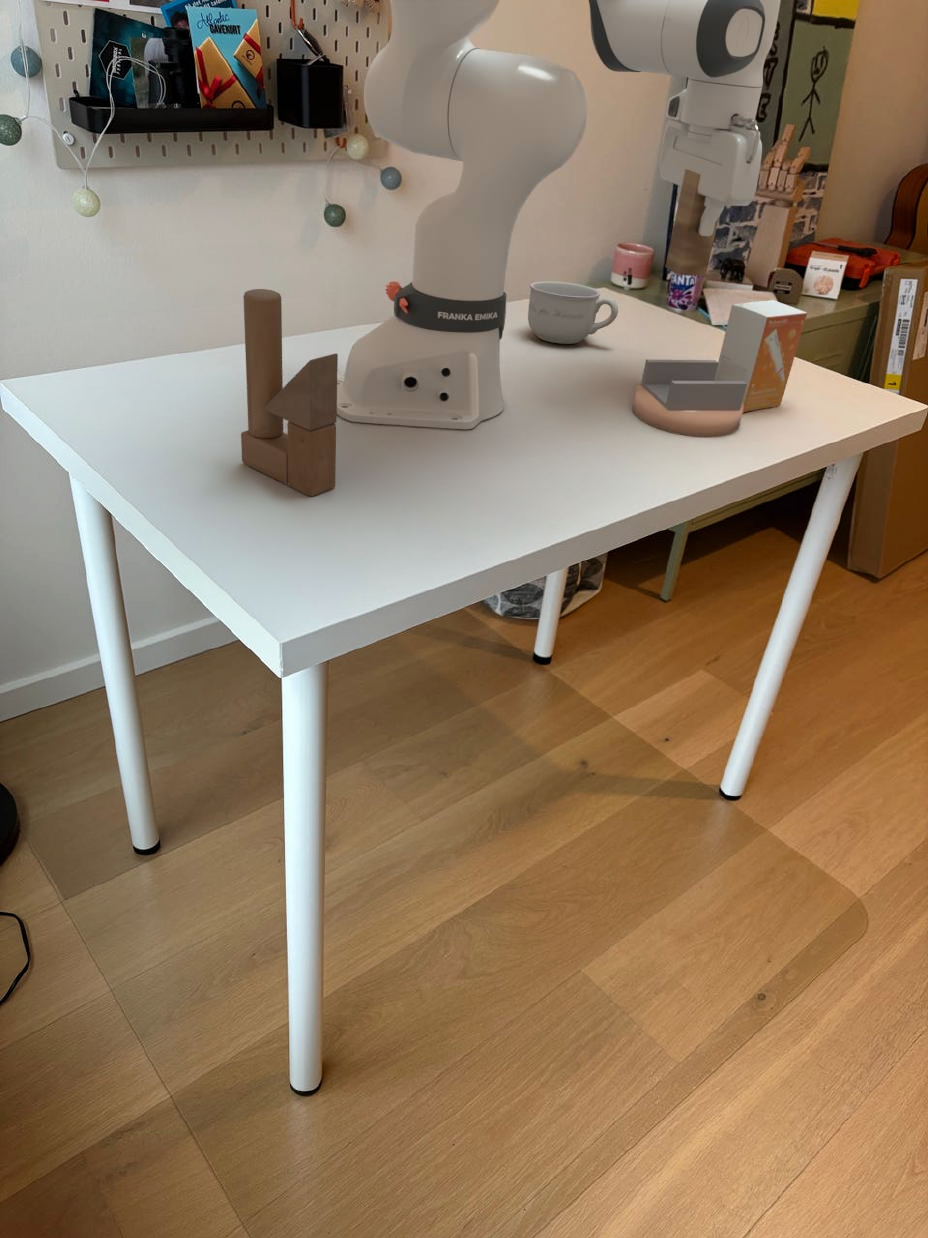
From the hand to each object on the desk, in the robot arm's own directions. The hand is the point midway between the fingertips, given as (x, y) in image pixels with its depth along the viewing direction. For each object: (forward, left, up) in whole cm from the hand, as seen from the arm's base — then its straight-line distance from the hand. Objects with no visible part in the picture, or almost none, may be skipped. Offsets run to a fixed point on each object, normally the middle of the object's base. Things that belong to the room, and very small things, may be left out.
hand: (693, 230), depth 124 cm
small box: (+10, -6, -21) cm, 24 cm away
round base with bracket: (-2, -11, -21) cm, 24 cm away
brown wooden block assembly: (-54, -27, -21) cm, 65 cm away
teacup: (-7, +20, -21) cm, 30 cm away
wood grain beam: (0, 0, -5) cm, 5 cm away
